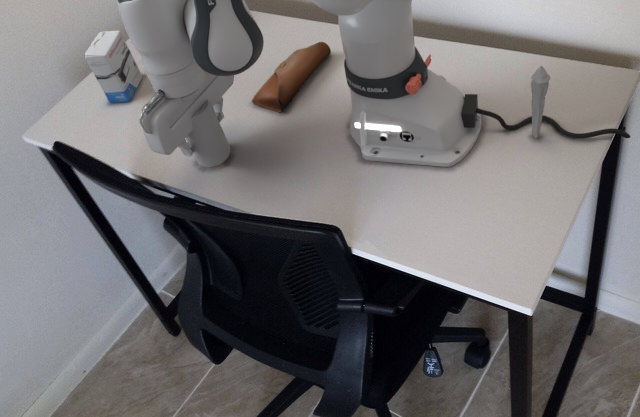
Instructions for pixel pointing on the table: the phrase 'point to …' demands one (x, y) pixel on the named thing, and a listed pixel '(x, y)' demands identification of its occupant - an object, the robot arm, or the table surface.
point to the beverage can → (208, 137)
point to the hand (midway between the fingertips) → (204, 136)
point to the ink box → (113, 66)
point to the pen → (538, 98)
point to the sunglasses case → (291, 77)
